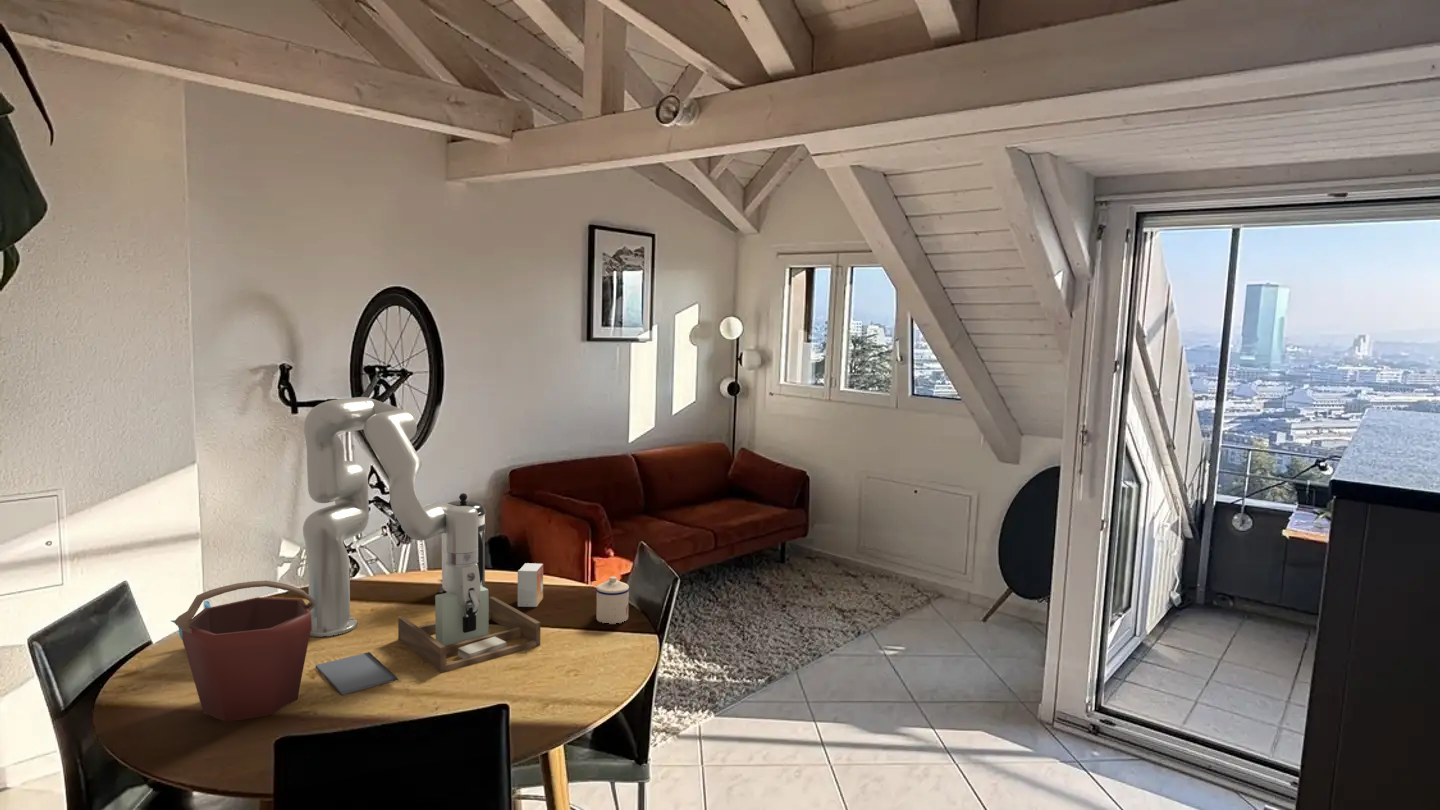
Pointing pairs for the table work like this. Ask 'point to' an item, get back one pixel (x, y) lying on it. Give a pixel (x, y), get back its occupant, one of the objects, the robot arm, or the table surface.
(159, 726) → the table surface
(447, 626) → the pale green block
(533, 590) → the small box
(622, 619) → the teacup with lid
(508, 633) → the rack
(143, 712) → the table surface
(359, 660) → the mat
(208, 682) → the bucket
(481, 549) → the coffee press
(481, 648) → the offcut upper
